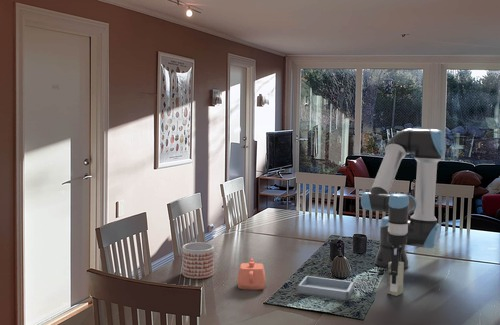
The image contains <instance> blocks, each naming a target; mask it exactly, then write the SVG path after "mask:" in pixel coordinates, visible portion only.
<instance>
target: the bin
mask: <svg viewBox="0 0 500 325" xmlns="http://www.w3.org/2000/svg"><path fill="white" fill-rule="evenodd" d="M354 290H355V281H350V280H342V279H334V278H327V277H318V276H313V275H312V276H311V275H305V277H303V279H302V280H301V281H300V282H299V284H298V285H297V294H298V295H306V296H314V297H319V298H327V299H328V298H329V299H332V300H333V299H334V300H340V301H349V300H350V298H351V296H352V295H353V294H352V293H353V292H354Z"/></svg>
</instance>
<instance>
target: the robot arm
mask: <svg viewBox="0 0 500 325" xmlns="http://www.w3.org/2000/svg"><path fill="white" fill-rule="evenodd" d="M446 150H447V142H446V136H445V134H444V132H443V131H442V129H441V130H440V129H434V128H405V129H402V130H400V131H399V132H397V133H395V134H394V135H393V136H392V137H391V138H390V139H389V140H388V141H387V144H386V145H385V147H384V154H385V155H384V156H383V159H382V160H381V164H380V166H379V169H378V171H377V173H376V176H375V178H374V180H373V183H372V186H371V189H370V191H365V192H363V193H362V194H361V197H360V205H361V208H362V209H364V210H367V211H371V212H373V211H375V212H384V213H388V216H383V217H382V218H381V220H380V226H379V229H380V230H379V248H378V251H377V253H376V256H375V259H374V261H375V262H374V263H375V265H377V266H378V267H382V268H386V269H388V263H389V262H391V272H390V273H389V275H391V278H390V291H393V292H397V288H398V264H399V261H400V262H404V269H406V268H407V267H409V258H408V255H407V252H406V246H410V247H418V248H423V249H434V248H436V246H437V245H438V242H439V240H440V236H441V230H442V229H441V226H442V225H441V224H440V223H438V218H436V216H435V203H436V202H435V200H436V187H437V185H436V184H437V170H438V163H439V162H440V161H441V159H442V156H445V155H446ZM407 154H408V155H409V154H410V155H414V156H413V158H414V160H415V161H416V175H415V176H416V180H415V195H414V196H413V195H411V194H405V193H391V194H390V190H391V188H392V186H393V184H394V180H395V177H396V176H397V173H398V171H399V170H398V169H399V167H400V165H401V162H402V160H403V159H404V158H405V157H406V156H407ZM412 213H413V214H412ZM411 214H412V215H411ZM409 215H411V216H410V219H409ZM393 271H394V272H393Z"/></svg>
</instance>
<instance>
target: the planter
mask: <svg viewBox="0 0 500 325" xmlns="http://www.w3.org/2000/svg"><path fill="white" fill-rule="evenodd" d="M181 249H182V250H181V251H182V252H181V253H182V254H181V256H182V276H183V277H185V278H186V279H190V280H203V279H204V280H205V279H209V278H211V277H213V276H214V273H215V272H214V271H215V270H214V269H215V268H214V267H215V263H214V261H215V247H214V244H211V243H208V242H199V241H198V242H197V241H196V242H189V243H185V244H183V245H182V248H181Z"/></svg>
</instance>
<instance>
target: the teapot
mask: <svg viewBox="0 0 500 325" xmlns="http://www.w3.org/2000/svg"><path fill="white" fill-rule="evenodd" d="M254 260H255V259H254V257H251V258H250V261H249V262H244V263H243V262H242V263H240V266H239V269H238V274H237V287H238V289H240V290H250V291H251V290H256V291H258V290H264V289H265V287H266V273H265V272H266V271H265V267H264V264H263V263H260V262H259V263H257V262H255V261H254Z"/></svg>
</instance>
